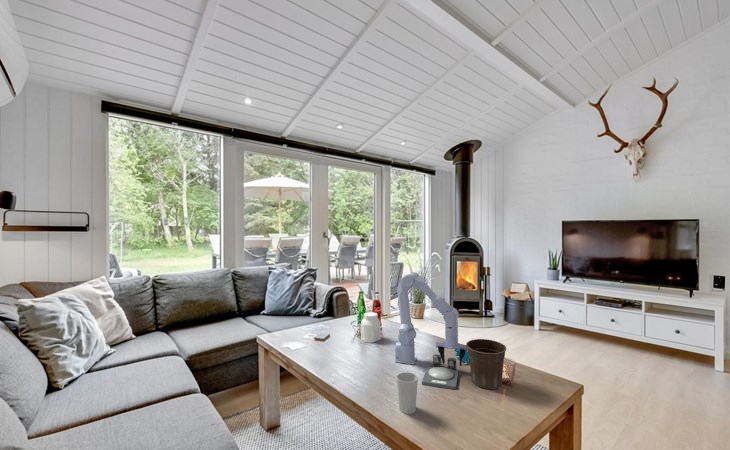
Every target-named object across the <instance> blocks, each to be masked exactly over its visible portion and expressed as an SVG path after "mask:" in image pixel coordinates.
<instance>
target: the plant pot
mask: <svg viewBox="0 0 730 450" xmlns="http://www.w3.org/2000/svg"><path fill="white" fill-rule="evenodd" d="M465 345H466V346H467V348H468V354H469V358H470V362H469V366H470V374H471V375H470V376H471V382H472V383H473V384H474V385H475V386H476V387H478V388H481V389H483V388H485V389H486V390H496V389H497V390H498V389H499V388H501V387H502V384H503V372H504V371H503V370H504V359H505V358H506V352H507V346H506V345H505V344H503V343H502V342H500V341H496V340H494V339H493V340H492V339H488V338H477V339H471V340H468V341H467V342H466V344H465Z"/></svg>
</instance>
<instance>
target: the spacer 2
mask: <svg viewBox="0 0 730 450" xmlns="http://www.w3.org/2000/svg"><path fill="white" fill-rule="evenodd" d="M447 368H448V369H453V370H457V358H455V357H447Z"/></svg>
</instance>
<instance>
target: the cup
mask: <svg viewBox="0 0 730 450" xmlns="http://www.w3.org/2000/svg"><path fill="white" fill-rule="evenodd" d="M418 381H419V377H418V375H417V374H415V373H413V372H410V371H404V372H403V371H402V372H399V373H397V375H396V389H397V397H398V398H397V399H398V400H397V401H398V410H399V412H400V413H403V414H406V415H410V414H414V413H415V412H416V410H417V395H418V394H417V393H418Z"/></svg>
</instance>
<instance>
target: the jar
mask: <svg viewBox="0 0 730 450" xmlns="http://www.w3.org/2000/svg"><path fill="white" fill-rule="evenodd" d="M378 316H379V315H378V313H377V312H371V311H369V312H365V313H363V317H362V318H363V319H362V320H361V322H360V326H361V327H360V330H361V331H360V333H361V335H360V336H361V337H360V339H361V341H362V342H363V343H367V344H369V343H370V344H373V343H375V342H377V341H380V340H381V338H382V337H381V320H380V319H379V318H378Z"/></svg>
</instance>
